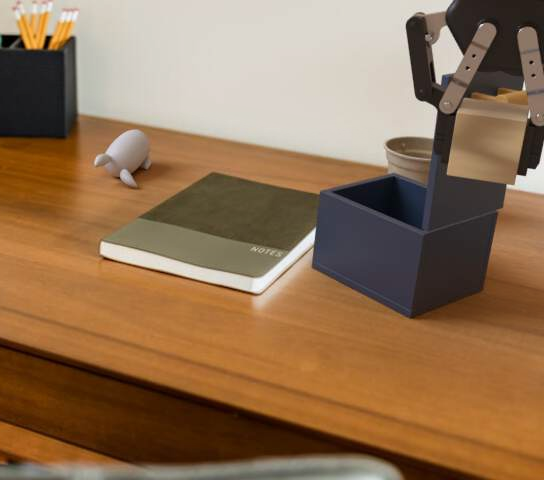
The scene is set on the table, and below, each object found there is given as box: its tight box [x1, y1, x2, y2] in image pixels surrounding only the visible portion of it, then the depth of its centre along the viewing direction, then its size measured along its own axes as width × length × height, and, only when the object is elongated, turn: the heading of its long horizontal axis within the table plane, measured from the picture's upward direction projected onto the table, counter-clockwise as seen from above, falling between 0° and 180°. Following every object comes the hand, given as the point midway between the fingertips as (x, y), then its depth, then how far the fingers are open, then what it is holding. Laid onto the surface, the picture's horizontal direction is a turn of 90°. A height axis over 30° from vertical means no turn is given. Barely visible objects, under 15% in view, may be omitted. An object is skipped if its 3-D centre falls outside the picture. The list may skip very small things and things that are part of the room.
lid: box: [422, 71, 529, 231], centre depth 82 cm, size 14×12×5 cm
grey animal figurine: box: [93, 129, 152, 188], centre depth 121 cm, size 6×5×12 cm
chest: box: [311, 173, 499, 319], centre depth 93 cm, size 14×12×9 cm
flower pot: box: [383, 135, 434, 185], centre depth 111 cm, size 9×9×9 cm
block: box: [447, 98, 530, 186], centre depth 64 cm, size 5×5×5 cm
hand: (484, 165), depth 65 cm, fingers closed on block, 4 cm apart
